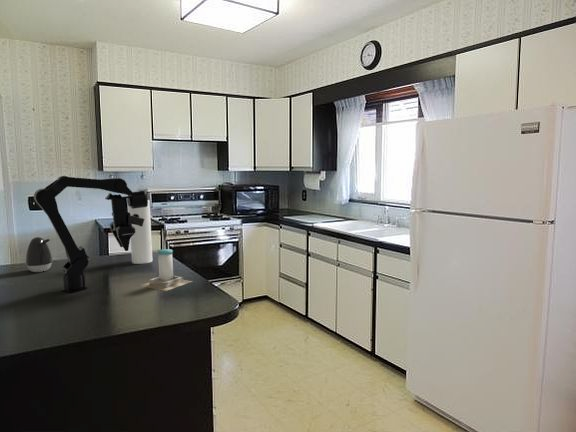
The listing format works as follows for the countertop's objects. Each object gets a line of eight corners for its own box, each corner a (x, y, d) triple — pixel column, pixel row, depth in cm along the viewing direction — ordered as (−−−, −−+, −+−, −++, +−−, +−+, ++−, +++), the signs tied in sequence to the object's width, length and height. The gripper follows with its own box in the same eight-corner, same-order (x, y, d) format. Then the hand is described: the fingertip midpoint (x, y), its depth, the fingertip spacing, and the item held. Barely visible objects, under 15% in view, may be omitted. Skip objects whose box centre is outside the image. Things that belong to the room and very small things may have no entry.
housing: (166, 292, 150) (165, 285, 150) (139, 286, 157) (139, 280, 157) (192, 282, 162) (192, 276, 162) (167, 278, 169) (166, 272, 169)
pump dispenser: (44, 273, 177) (42, 239, 175) (21, 274, 177) (17, 239, 176) (58, 268, 187) (55, 235, 186) (35, 268, 188) (33, 235, 186)
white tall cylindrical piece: (166, 286, 156) (164, 252, 154) (155, 284, 158) (154, 251, 157) (177, 282, 161) (175, 249, 159) (166, 280, 163) (165, 248, 162)
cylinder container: (155, 259, 203) (152, 198, 200) (147, 263, 194) (144, 200, 190) (137, 259, 204) (134, 198, 200) (128, 263, 195) (124, 200, 191)
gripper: (147, 210, 158) (150, 249, 160) (136, 206, 173) (139, 242, 176) (116, 213, 152) (120, 254, 154) (107, 208, 168) (111, 246, 170)
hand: (124, 248), depth 164 cm, fingers open, 9 cm apart
